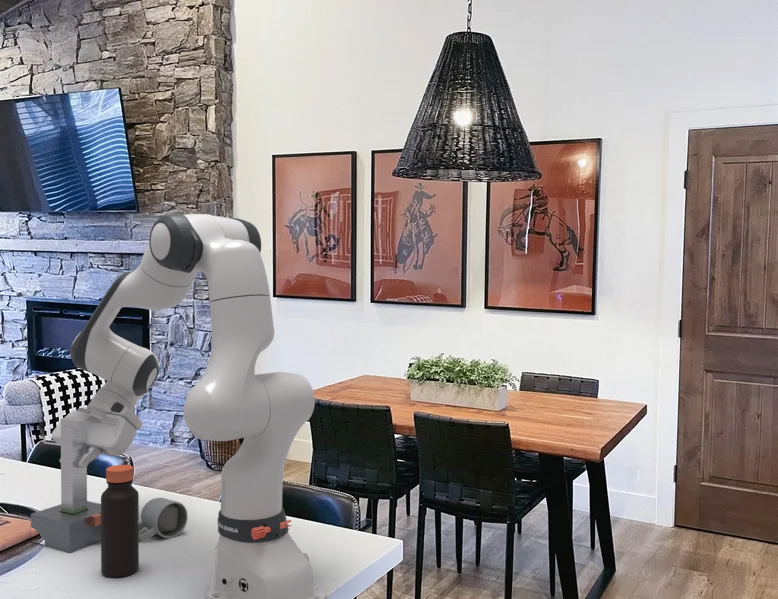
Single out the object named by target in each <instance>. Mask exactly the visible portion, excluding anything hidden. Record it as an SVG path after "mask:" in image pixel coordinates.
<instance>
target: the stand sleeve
mask: <svg viewBox="0 0 778 599" xmlns="http://www.w3.org/2000/svg"><path fill="white" fill-rule="evenodd" d="M31 527H32V528H34V529H36V531H38V533H39V534H40V536H41V537H42V538H44V540H45V546H44V547H47V548H51V549H54V550H58V551H61V552H65V553H68V554H71V553H73V552H76V551H79V550H81V549H85V548H86V547H89V546H92V545H94V544H96V543H99V542H100V543H101V503H98V502H94V501H89V500H87V511H84V512H81V513H78V514H75V515H69V514H65V513H61V503H60V504H57V505H54V506H51V507H48V508H46V509H42V510H39V511H35V512H32V513H30V528H31Z"/></svg>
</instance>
